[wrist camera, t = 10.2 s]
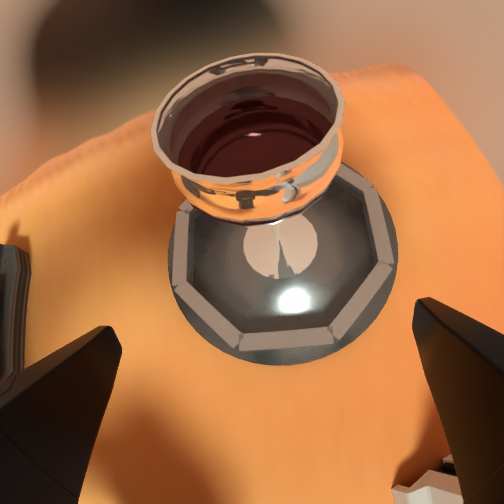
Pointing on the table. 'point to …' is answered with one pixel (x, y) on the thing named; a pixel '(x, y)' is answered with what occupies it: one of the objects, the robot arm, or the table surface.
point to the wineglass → (255, 150)
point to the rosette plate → (288, 279)
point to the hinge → (432, 487)
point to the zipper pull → (13, 309)
